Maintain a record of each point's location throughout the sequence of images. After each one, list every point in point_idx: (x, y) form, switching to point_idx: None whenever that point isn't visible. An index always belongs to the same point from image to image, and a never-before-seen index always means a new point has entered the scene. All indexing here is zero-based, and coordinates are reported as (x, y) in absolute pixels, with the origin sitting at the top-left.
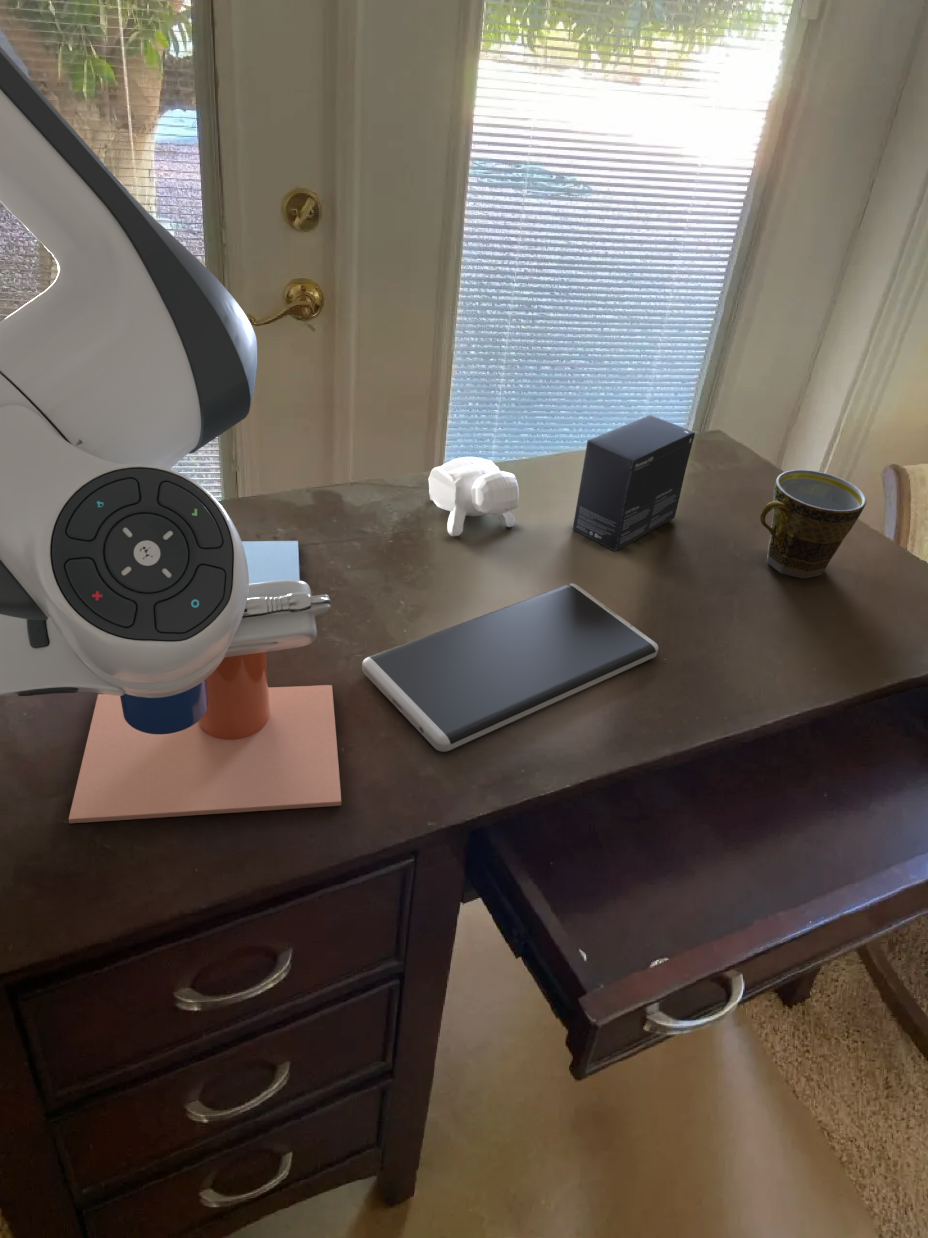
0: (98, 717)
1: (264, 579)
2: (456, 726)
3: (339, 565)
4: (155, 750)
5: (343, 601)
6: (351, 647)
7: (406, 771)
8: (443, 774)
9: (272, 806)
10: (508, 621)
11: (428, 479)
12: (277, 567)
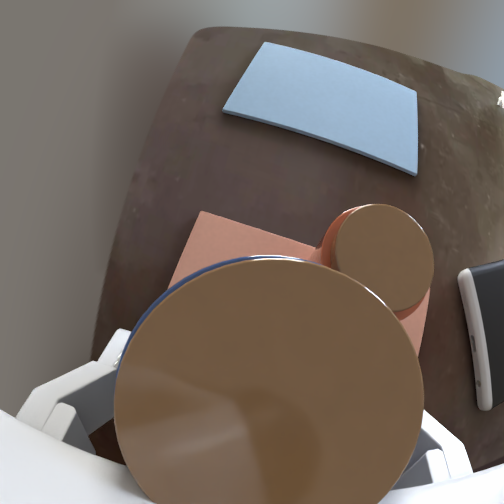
0: (192, 245)
1: (388, 118)
2: (501, 393)
3: (446, 130)
4: None
5: (449, 172)
6: (451, 236)
7: (448, 421)
8: (468, 429)
9: None
10: None
11: (502, 91)
12: (400, 110)
